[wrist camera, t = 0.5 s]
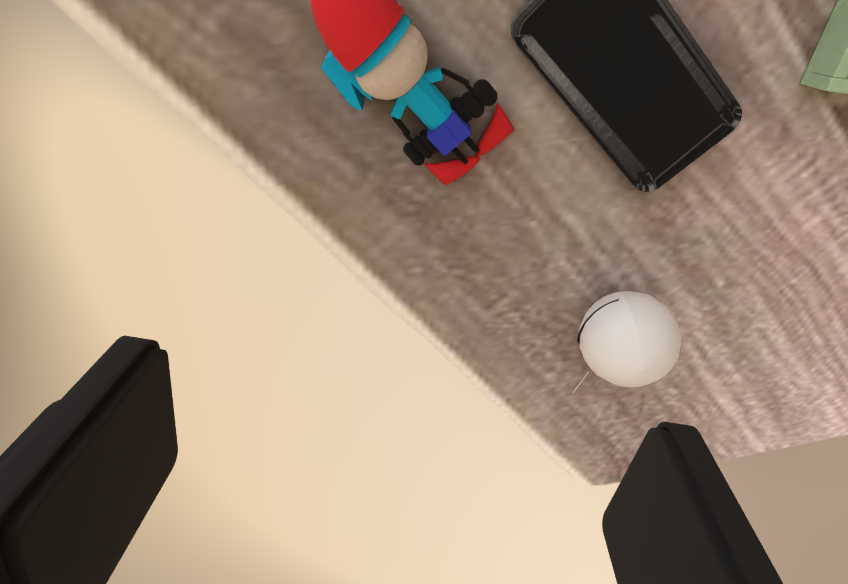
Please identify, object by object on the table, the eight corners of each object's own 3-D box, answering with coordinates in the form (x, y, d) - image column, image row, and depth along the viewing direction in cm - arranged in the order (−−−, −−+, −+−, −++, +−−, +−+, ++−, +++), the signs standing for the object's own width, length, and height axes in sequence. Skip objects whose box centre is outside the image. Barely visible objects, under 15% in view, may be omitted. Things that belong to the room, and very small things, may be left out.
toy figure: (519, 112, 37) (364, -80, 30) (530, 142, 33) (357, -70, 26) (438, 177, 40) (281, 19, 33) (440, 211, 36) (264, 41, 29)
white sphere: (625, 255, 40) (657, 305, 34) (679, 313, 43) (719, 369, 36) (526, 330, 44) (538, 387, 38) (581, 379, 47) (601, 441, 40)
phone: (644, 198, 37) (504, 30, 32) (639, 193, 38) (503, 29, 33) (750, 117, 34) (614, -83, 29) (742, 113, 35) (608, -80, 30)
